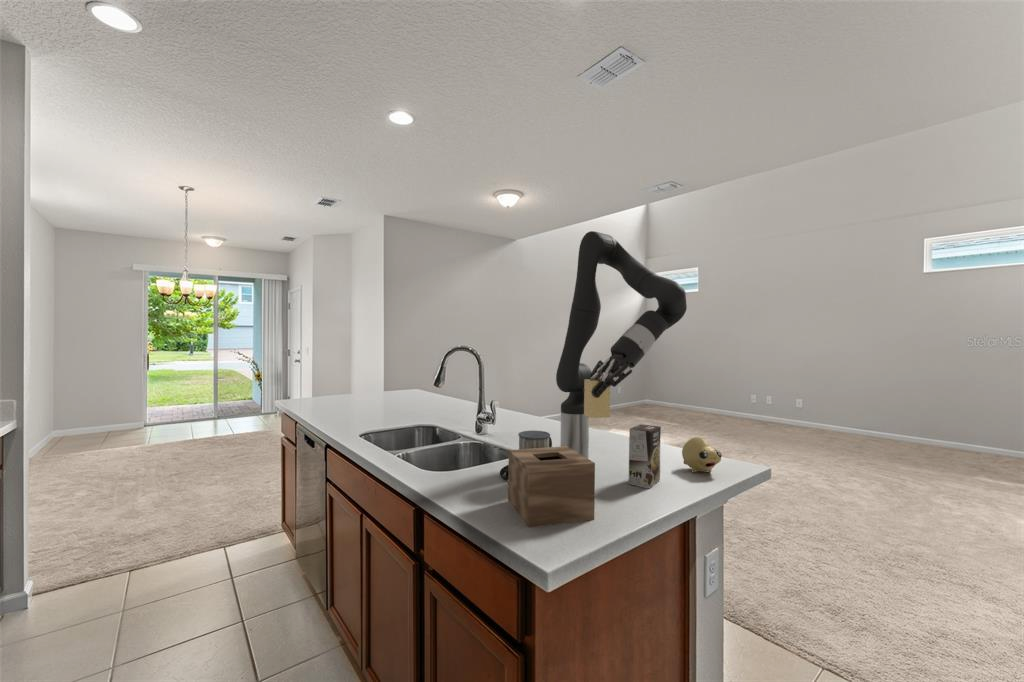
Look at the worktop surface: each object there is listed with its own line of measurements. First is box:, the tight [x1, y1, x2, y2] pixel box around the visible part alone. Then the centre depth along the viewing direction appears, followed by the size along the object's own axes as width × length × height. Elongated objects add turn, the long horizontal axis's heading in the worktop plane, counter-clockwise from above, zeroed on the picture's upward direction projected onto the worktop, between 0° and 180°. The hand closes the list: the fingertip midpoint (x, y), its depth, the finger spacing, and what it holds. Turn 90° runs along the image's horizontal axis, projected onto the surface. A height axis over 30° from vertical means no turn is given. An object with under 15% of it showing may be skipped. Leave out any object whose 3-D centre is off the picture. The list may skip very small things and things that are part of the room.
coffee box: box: [628, 424, 662, 489], centre depth 126 cm, size 9×6×16 cm
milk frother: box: [499, 430, 553, 481], centre depth 125 cm, size 14×16×15 cm
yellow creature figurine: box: [681, 436, 723, 473], centre depth 136 cm, size 10×12×11 cm
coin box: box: [507, 446, 596, 528], centre depth 105 cm, size 16×16×13 cm
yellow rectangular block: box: [584, 379, 611, 419], centre depth 109 cm, size 4×5×9 cm
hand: (589, 393), depth 108 cm, fingers closed on yellow rectangular block, 4 cm apart
